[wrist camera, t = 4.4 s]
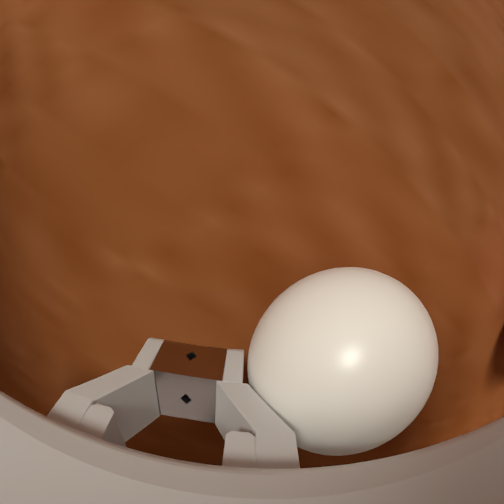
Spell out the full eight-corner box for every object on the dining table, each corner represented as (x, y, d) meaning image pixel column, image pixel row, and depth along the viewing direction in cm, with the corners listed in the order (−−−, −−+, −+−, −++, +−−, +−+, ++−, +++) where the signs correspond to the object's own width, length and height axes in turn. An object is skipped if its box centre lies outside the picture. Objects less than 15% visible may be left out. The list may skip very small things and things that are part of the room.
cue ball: (207, 420, 8) (347, 516, 4) (205, 263, 6) (463, 371, 3) (304, 356, 12) (414, 407, 8) (326, 236, 10) (470, 277, 7)
